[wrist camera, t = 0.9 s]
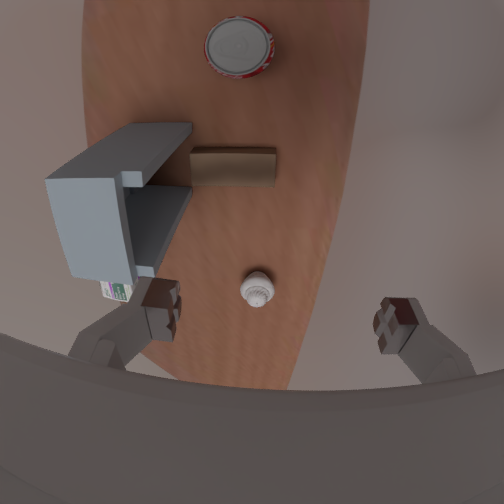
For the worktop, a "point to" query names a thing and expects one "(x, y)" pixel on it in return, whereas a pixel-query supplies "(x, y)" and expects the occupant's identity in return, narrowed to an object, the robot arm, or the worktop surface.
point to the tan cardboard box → (233, 166)
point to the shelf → (119, 203)
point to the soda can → (239, 47)
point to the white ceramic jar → (257, 289)
